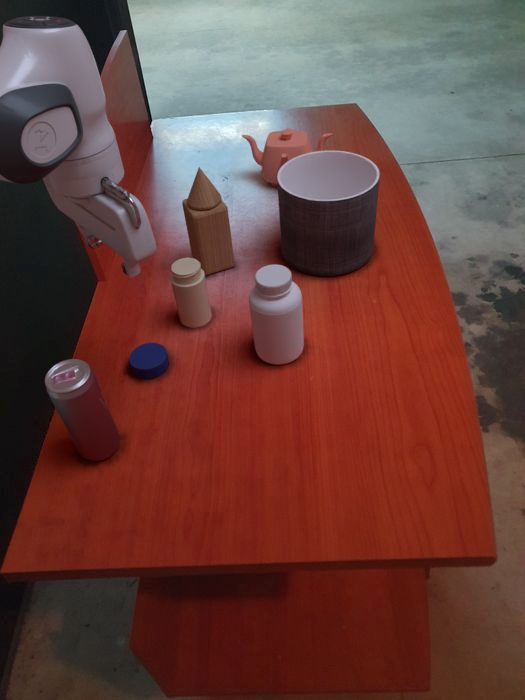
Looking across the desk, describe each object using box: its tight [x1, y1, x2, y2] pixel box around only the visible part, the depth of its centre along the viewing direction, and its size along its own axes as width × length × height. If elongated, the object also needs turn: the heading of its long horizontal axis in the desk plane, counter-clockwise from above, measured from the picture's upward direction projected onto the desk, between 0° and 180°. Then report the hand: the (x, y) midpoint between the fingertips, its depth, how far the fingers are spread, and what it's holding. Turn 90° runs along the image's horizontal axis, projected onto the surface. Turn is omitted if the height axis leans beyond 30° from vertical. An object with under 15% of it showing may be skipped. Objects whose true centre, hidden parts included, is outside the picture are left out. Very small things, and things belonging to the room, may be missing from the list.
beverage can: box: [44, 358, 121, 462], centre depth 76 cm, size 6×6×15 cm
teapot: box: [241, 127, 334, 187], centre depth 127 cm, size 14×14×11 cm
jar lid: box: [128, 342, 170, 380], centre depth 91 cm, size 6×6×2 cm
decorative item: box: [181, 166, 235, 276], centre depth 103 cm, size 7×7×20 cm
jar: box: [170, 257, 213, 329], centre depth 95 cm, size 6×6×11 cm
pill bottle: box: [248, 264, 305, 366], centre depth 87 cm, size 8×8×15 cm
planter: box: [277, 150, 381, 277], centre depth 105 cm, size 18×18×16 cm
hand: (113, 259), depth 78 cm, fingers open, 8 cm apart
